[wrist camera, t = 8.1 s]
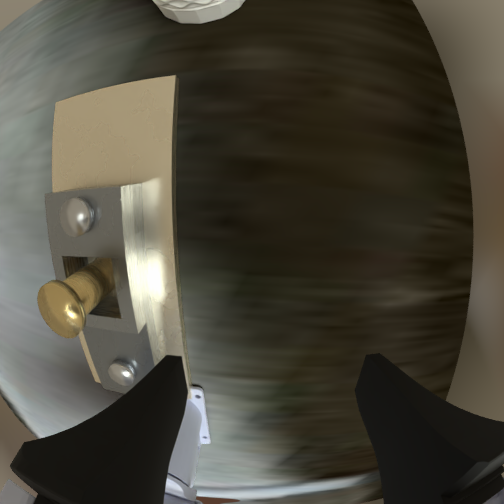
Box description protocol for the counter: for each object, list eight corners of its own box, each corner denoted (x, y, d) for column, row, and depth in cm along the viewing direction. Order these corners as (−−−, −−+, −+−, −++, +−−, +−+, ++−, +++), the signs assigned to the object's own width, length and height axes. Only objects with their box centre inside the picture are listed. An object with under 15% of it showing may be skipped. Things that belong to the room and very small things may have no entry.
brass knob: (132, 291, 18) (87, 342, 12) (96, 288, 18) (47, 333, 12) (127, 248, 17) (72, 286, 11) (90, 247, 17) (31, 281, 11)
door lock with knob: (193, 391, 22) (183, 430, 17) (99, 375, 22) (80, 406, 17) (179, 79, 15) (156, 54, 10) (63, 104, 15) (24, 95, 10)
